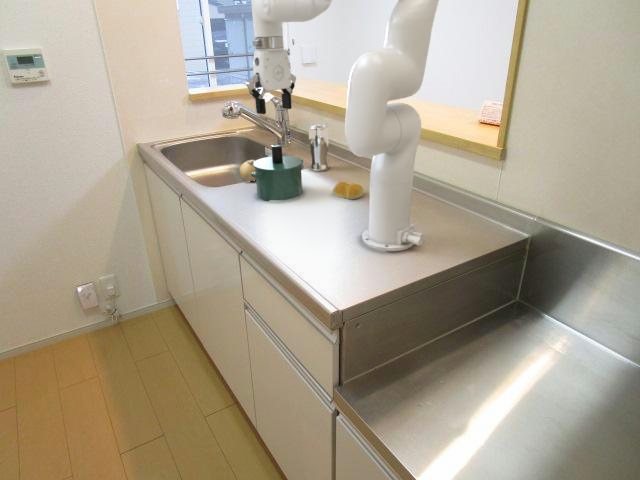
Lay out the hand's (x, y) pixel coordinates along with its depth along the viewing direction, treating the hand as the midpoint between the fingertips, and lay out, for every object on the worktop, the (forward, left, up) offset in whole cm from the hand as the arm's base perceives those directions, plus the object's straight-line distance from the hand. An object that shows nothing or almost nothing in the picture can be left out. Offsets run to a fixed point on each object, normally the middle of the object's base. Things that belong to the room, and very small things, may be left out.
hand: (274, 111), depth 126 cm
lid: (+1, -1, -16) cm, 16 cm away
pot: (+1, -1, -25) cm, 25 cm away
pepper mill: (+9, -28, -25) cm, 39 cm away
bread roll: (-16, -13, -25) cm, 33 cm away
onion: (+19, -5, -25) cm, 32 cm away
